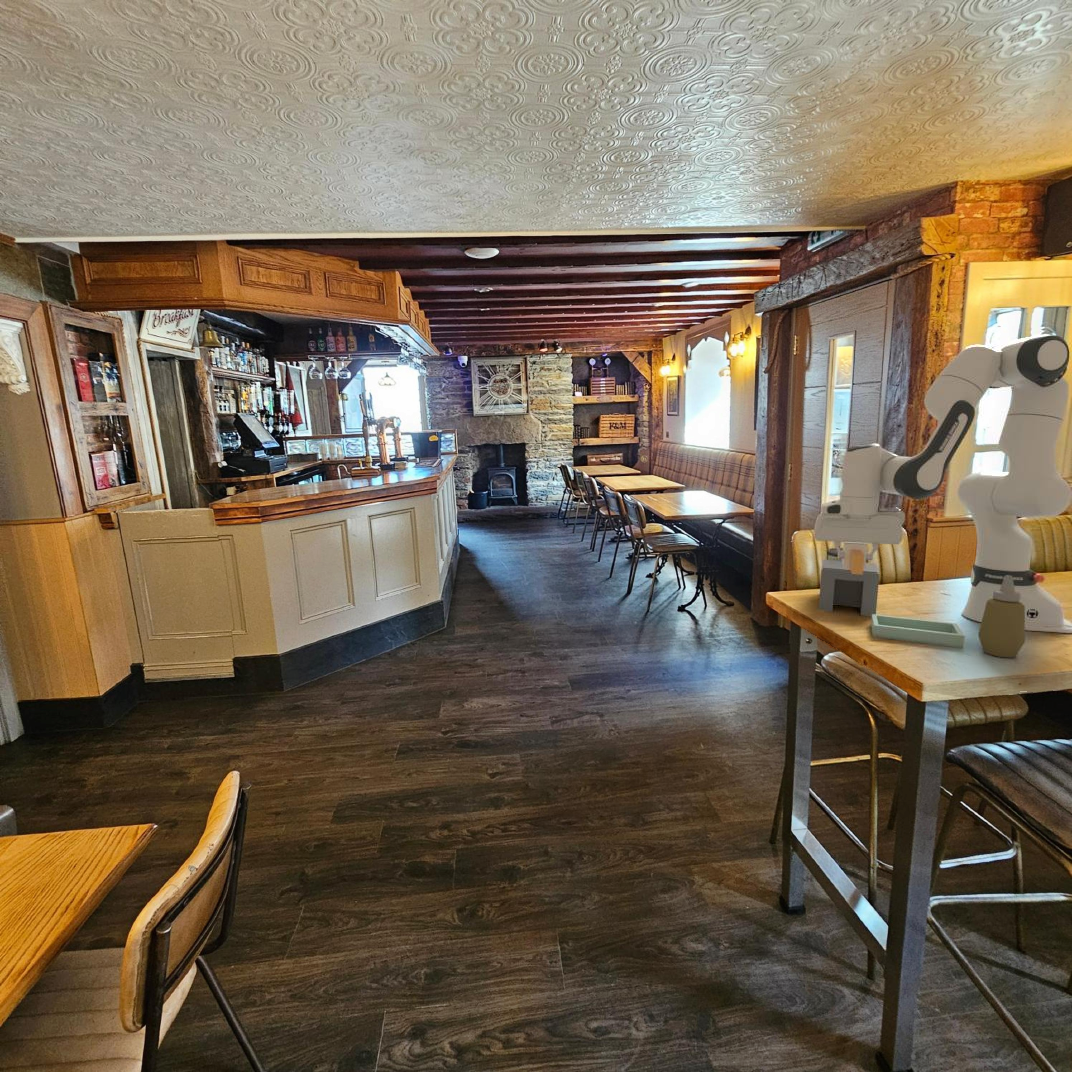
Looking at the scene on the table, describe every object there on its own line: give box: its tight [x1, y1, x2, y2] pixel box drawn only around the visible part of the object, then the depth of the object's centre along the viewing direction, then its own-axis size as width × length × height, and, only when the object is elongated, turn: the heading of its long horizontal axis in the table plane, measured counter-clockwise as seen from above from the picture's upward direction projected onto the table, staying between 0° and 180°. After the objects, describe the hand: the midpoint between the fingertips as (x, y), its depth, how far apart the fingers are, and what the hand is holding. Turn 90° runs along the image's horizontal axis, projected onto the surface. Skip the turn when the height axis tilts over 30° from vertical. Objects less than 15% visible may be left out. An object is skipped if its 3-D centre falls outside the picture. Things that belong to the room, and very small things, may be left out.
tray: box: [870, 613, 965, 649], centre depth 139 cm, size 18×10×3 cm, turn 62°
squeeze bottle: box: [978, 575, 1026, 659], centre depth 126 cm, size 8×8×18 cm
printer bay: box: [818, 559, 880, 617], centre depth 162 cm, size 14×13×12 cm
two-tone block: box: [842, 542, 868, 575], centre depth 148 cm, size 5×13×6 cm, turn 156°
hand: (854, 558), depth 149 cm, fingers closed on two-tone block, 5 cm apart
